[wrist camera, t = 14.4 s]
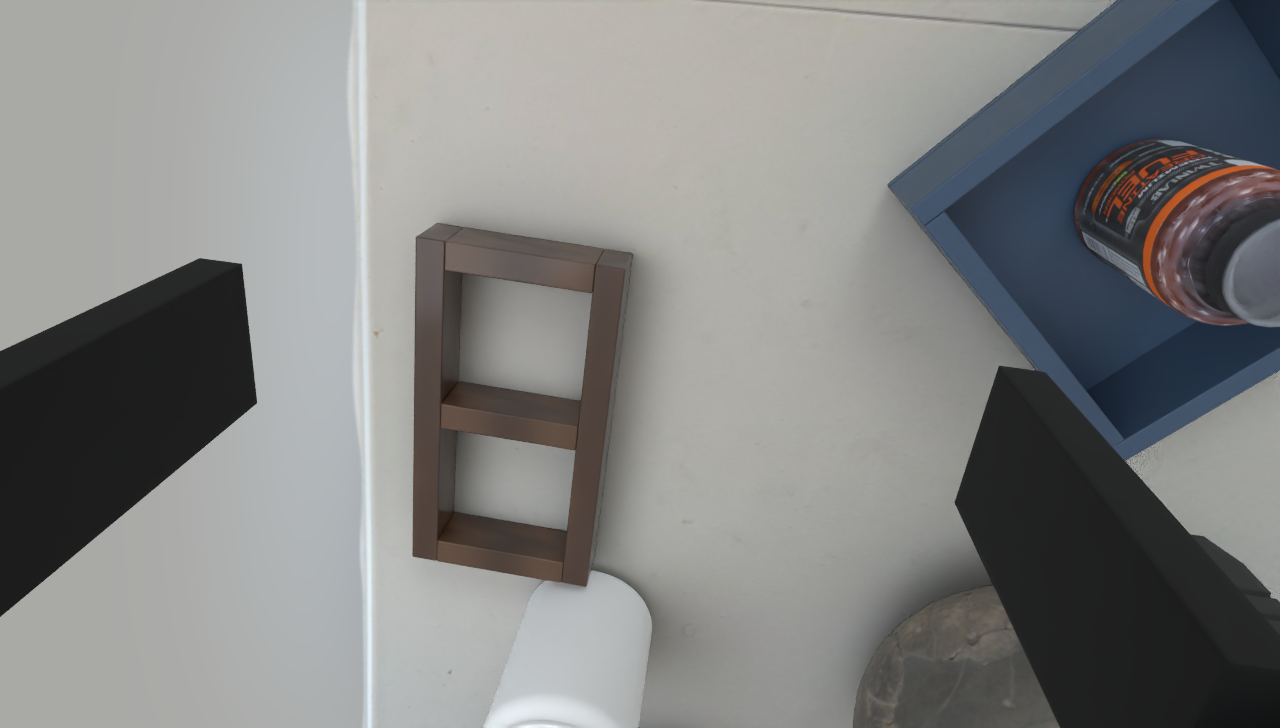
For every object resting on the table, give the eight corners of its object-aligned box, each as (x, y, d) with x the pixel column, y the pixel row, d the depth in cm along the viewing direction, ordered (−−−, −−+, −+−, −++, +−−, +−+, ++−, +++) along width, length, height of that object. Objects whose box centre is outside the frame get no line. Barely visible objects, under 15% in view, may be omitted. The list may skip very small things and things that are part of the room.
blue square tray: (886, 184, 38) (910, 208, 33) (1209, -74, 33) (1297, -93, 28) (1069, 412, 42) (1116, 466, 37) (1388, 213, 36) (1495, 244, 31)
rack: (430, 527, 49) (412, 556, 47) (436, 222, 41) (415, 236, 39) (594, 556, 49) (586, 587, 46) (633, 252, 41) (625, 269, 38)
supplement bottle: (1138, 109, 35) (1305, 145, 25) (1237, 183, 36) (1440, 248, 26) (1040, 219, 37) (1156, 294, 27) (1135, 287, 38) (1283, 385, 28)
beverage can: (673, 644, 51) (657, 814, 40) (564, 676, 53) (520, 846, 42) (618, 547, 48) (585, 699, 37) (506, 584, 50) (443, 739, 39)
